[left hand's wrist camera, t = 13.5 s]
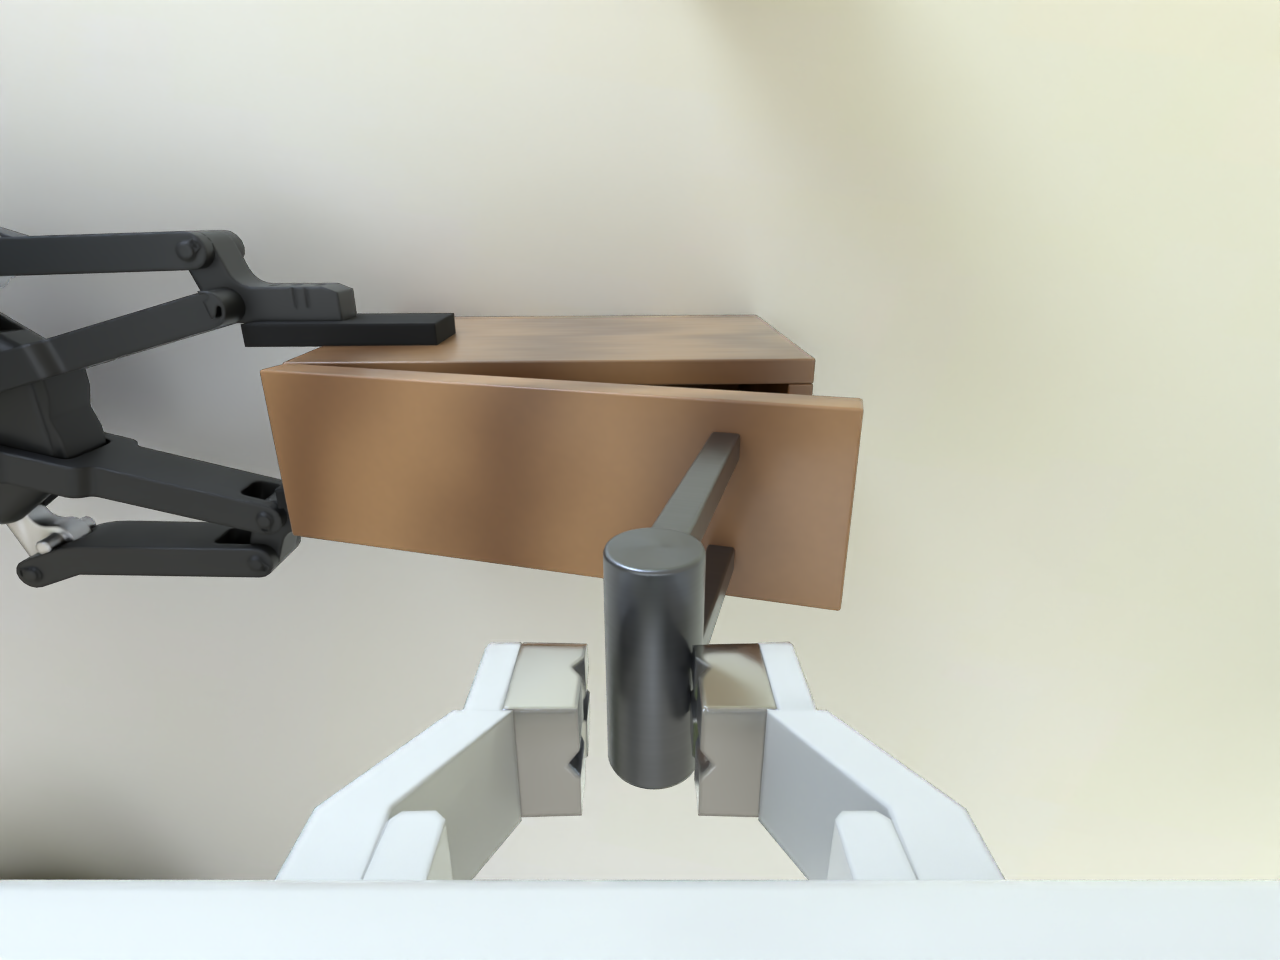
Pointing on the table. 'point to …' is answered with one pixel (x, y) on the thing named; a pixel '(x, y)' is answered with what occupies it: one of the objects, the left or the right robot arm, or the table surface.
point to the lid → (586, 504)
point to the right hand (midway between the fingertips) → (452, 409)
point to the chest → (602, 352)
